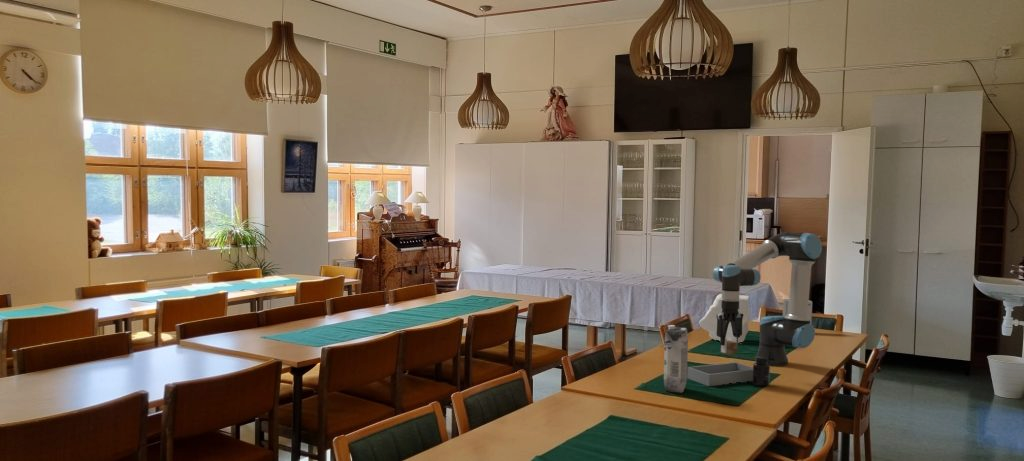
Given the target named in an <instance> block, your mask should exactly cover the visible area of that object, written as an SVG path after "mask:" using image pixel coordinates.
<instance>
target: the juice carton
mask: <svg viewBox="0 0 1024 461" xmlns="http://www.w3.org/2000/svg"><path fill="white" fill-rule="evenodd" d="M667 327H668V328H667V329H666V330H665V336H664V348H663V349H664V352H663V353H664V354H663V355H664V356H663V357H664V359H663V360H664V361H663V363H664V364H663V385H664V391H665V392H671V393H681V394H682V393H683V392H684V391H685V388H686V385H687V381H688V378H687V373H688V355H689V354H688V352H689V351H688V350H689V349H688V348H689V346H688V343H689V335H688V329H687V327H680V326H679V327H678V326H676V325H674V324H670V325H668V326H667Z"/></svg>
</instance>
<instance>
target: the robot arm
mask: <svg viewBox="0 0 1024 461" xmlns="http://www.w3.org/2000/svg"><path fill="white" fill-rule="evenodd" d="M822 251H823V244H822V241H821V239H820V238H819V237H818V235H816V234H814V233H809V232H796V231H795V232H792V231H785V232H780V233H778V234H776V235H773V236H771V237H769V238H767V239H766V240H764V241H763V242H762V244H761V245H759V246H758V247H756V248H754V249H752V250H750V251H749V252H747V253H746V254H743V255H742V256H740V257H738V258H736V259H735V260H732V261H731V262H729V263H728V264H725V265H716V266H715V267H714V268H713V271H712V277H713V279H714V281H715V282H719V283H721V294H722V299H723V300H722V304H721V307H722V313H721V314H719V315H718V314H717V315H716V317H717V336H718V337H720V342H719V343H720V353H721V352H723V353H722V354H724V353H727V338H725V337H726V333H727V329H728V325H729V323H730V322H731V326H732V332H733V336H734V337H732V340H731V341H734V342H737V345H739V344H738V338H739V337H740V336H741V335H742V319H743V314H742V313H739V312H738V309H739V301H738V300H739V295H740V291H741V290H740V287H752V286H757V285H758V284H759V283H760V281H761V273H760V271H759V270H758V269H756V267H758V266H760V265H762V264H763V263H765V262H767V261H768V260H770V259H773V260H774V259H777V258H778V257H787V256H788V261H789V262H790V263H791V271H790V284H789V296H788V297H789V298H788V299H789V307H788V314H787V315H786V316H783V315H768V316H762V317H761V318H760V322H759V323H760V324H759V345H758V346H759V347H758V349H757V353H756V355H755V358H754V359H755V362H754V363H756V357H758V356H762V357H767V358H768V362H767V364H769V366H770V367H772V366H773V367H783V366H787V365H788V364H789V359H788V355H787V351H786V346H790V347H794V348H799V349H800V348H801V349H805V348H808V347H809V346H810V345H811V344H812V343H813V342H814V340H815V336H816V330H815V326H813V325H812V324H811V325H810V319H809V318H808V316H807V313H808V301H809V298H810V286H811V276H812V275H811V274H812V266H813V264H815V263H816V259H818V258H820V256H821V254H822ZM736 317H737V318H736Z"/></svg>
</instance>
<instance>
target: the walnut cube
mask: <svg viewBox="0 0 1024 461" xmlns="http://www.w3.org/2000/svg"><path fill="white" fill-rule="evenodd" d="M720 353H721V354H724V355H725V354H726V355H728V356H729V355H737V354H738V344H737V342H734V341H730V340H729V341H727V353H723V352H721V351H720Z"/></svg>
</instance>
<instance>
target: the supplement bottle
mask: <svg viewBox="0 0 1024 461" xmlns="http://www.w3.org/2000/svg"><path fill="white" fill-rule="evenodd" d="M755 357H756V356H755ZM767 362H768V358H767V357H762V356H758V357H756V362H754V363H753V366H752V367H753V381H752V385H754V386H757V387H765V388H766V387H768V386H770V376H771V375H770V374H771V372H770V370H771V366H770V365H769V364H767Z"/></svg>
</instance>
